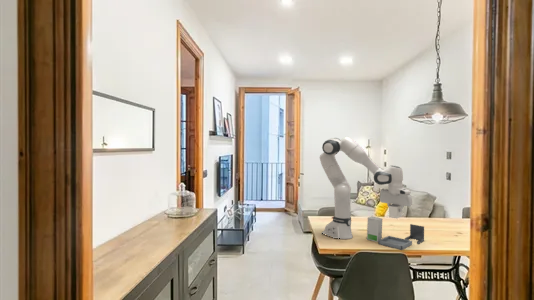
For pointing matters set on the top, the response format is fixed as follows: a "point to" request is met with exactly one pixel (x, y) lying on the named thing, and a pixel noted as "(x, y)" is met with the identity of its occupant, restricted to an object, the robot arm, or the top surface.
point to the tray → (395, 242)
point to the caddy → (394, 211)
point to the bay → (416, 233)
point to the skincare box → (374, 229)
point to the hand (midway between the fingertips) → (395, 210)
